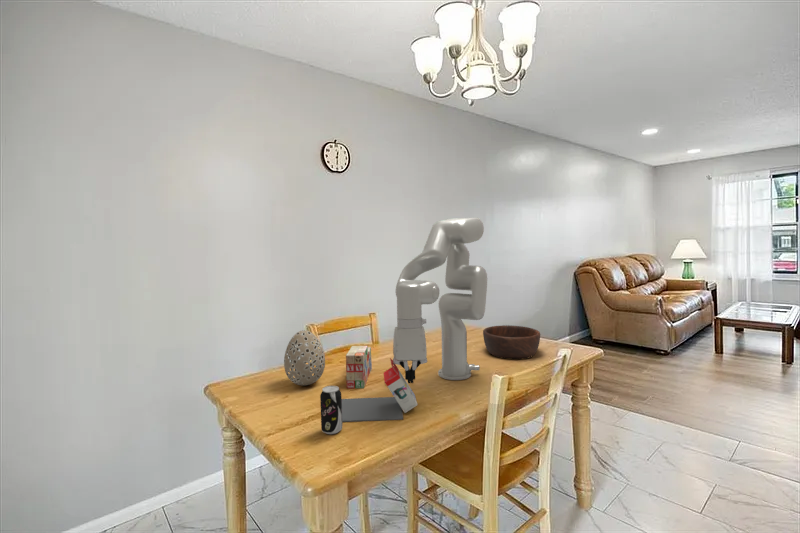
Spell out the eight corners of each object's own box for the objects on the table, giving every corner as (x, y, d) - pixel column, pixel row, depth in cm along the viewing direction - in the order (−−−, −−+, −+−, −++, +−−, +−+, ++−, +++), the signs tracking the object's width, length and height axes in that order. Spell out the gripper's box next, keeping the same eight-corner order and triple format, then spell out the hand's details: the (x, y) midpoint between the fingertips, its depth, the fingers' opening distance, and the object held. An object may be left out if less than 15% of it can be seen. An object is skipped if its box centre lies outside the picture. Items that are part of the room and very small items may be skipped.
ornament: (300, 375, 155) (298, 325, 153) (333, 379, 149) (331, 327, 148) (276, 389, 141) (274, 333, 140) (311, 394, 136) (309, 336, 134)
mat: (400, 397, 131) (400, 396, 131) (403, 419, 115) (403, 418, 115) (339, 400, 130) (339, 399, 130) (334, 422, 114) (334, 421, 114)
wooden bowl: (473, 349, 188) (473, 327, 187) (518, 344, 195) (518, 323, 195) (502, 364, 164) (502, 340, 163) (552, 358, 171) (552, 334, 171)
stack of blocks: (356, 369, 162) (355, 339, 161) (371, 369, 161) (371, 339, 160) (346, 388, 140) (345, 354, 140) (364, 388, 140) (363, 354, 139)
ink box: (402, 402, 127) (377, 365, 126) (415, 394, 127) (390, 356, 126) (404, 414, 119) (378, 374, 117) (418, 405, 119) (392, 365, 117)
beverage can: (345, 432, 108) (344, 389, 107) (326, 438, 105) (324, 394, 104) (337, 424, 113) (336, 383, 112) (318, 429, 110) (316, 387, 109)
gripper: (431, 320, 126) (432, 376, 127) (384, 321, 125) (385, 378, 126) (435, 325, 118) (436, 385, 119) (385, 326, 117) (386, 387, 118)
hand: (410, 381), depth 122 cm, fingers closed
